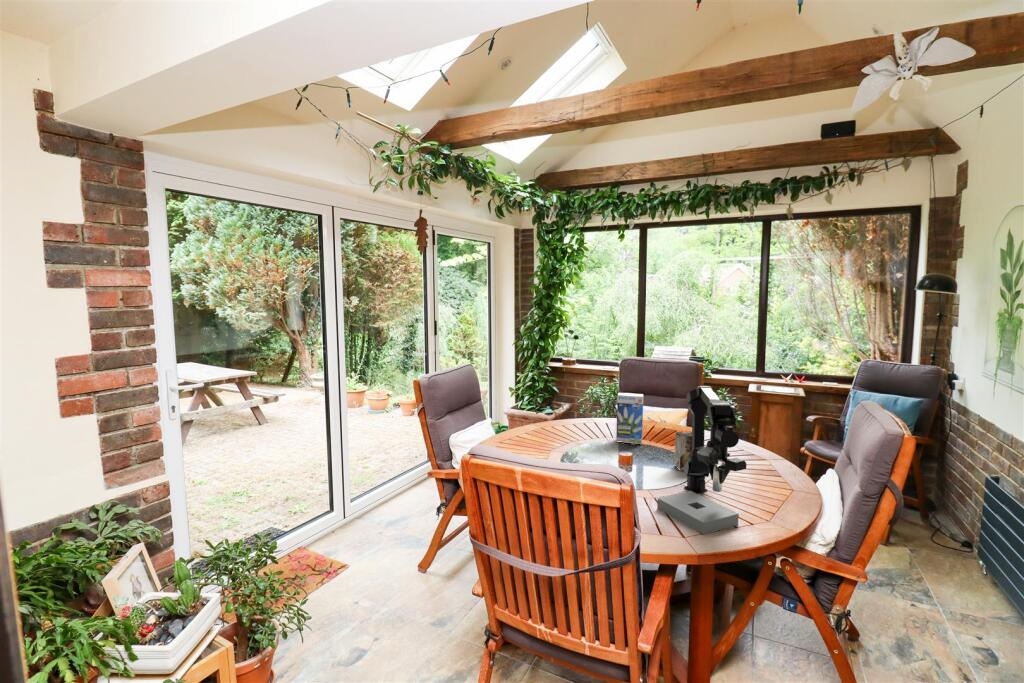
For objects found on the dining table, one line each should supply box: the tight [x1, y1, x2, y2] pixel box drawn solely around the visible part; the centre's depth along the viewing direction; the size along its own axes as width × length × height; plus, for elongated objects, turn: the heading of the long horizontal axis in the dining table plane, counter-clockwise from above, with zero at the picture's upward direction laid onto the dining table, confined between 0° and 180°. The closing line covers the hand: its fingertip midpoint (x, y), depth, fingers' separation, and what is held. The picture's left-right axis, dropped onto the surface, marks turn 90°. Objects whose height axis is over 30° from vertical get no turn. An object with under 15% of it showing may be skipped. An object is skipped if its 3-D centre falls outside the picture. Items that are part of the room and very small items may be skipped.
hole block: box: [656, 490, 740, 535], centre depth 177 cm, size 22×16×4 cm
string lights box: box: [615, 392, 644, 444], centre depth 264 cm, size 13×8×26 cm, turn 73°
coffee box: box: [674, 431, 692, 470], centre depth 225 cm, size 9×6×16 cm
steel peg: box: [712, 463, 723, 493], centre depth 175 cm, size 3×3×9 cm
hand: (717, 481), depth 175 cm, fingers closed on steel peg, 3 cm apart
